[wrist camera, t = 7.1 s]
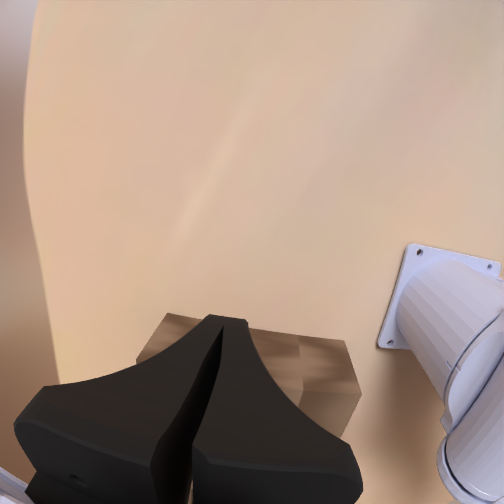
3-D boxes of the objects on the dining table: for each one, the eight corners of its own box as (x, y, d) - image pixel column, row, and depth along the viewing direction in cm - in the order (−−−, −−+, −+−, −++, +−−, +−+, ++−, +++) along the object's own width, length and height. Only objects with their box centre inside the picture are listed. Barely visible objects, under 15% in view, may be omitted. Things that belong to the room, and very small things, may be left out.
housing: (344, 340, 21) (361, 393, 16) (282, 489, 28) (282, 530, 22) (167, 313, 22) (136, 359, 16) (171, 471, 28) (158, 511, 22)
